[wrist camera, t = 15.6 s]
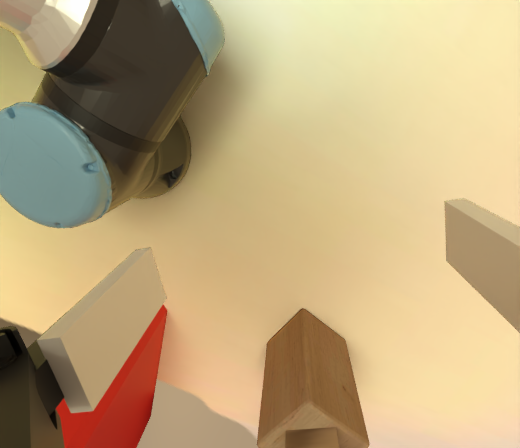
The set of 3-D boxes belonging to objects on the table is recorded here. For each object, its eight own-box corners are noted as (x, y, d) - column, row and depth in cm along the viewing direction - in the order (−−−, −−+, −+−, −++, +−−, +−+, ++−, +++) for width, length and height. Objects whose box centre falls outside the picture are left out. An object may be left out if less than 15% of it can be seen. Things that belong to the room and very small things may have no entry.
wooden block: (346, 339, 59) (372, 447, 41) (308, 373, 62) (315, 488, 44) (302, 306, 58) (308, 402, 39) (266, 342, 61) (255, 447, 42)
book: (150, 416, 69) (42, 653, 39) (112, 406, 69) (-25, 636, 39) (168, 304, 60) (45, 501, 30) (124, 293, 60) (-43, 479, 30)
